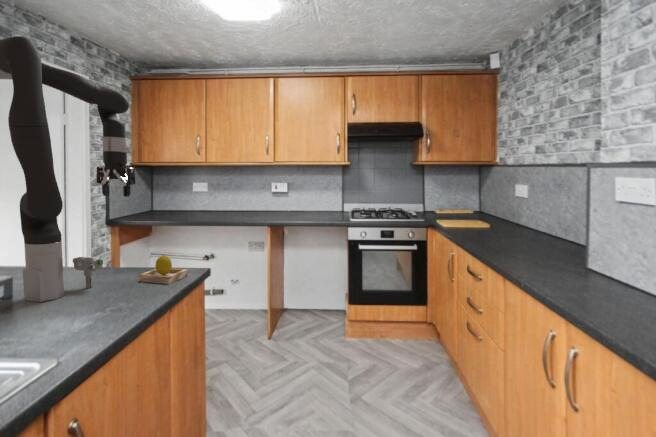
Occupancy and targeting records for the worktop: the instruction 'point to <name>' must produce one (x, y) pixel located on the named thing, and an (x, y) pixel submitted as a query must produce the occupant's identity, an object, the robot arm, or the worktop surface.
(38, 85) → the robot arm
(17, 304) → the worktop surface
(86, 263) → the mechanical component
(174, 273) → the tray
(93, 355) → the worktop surface
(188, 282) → the worktop surface
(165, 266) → the lemon
